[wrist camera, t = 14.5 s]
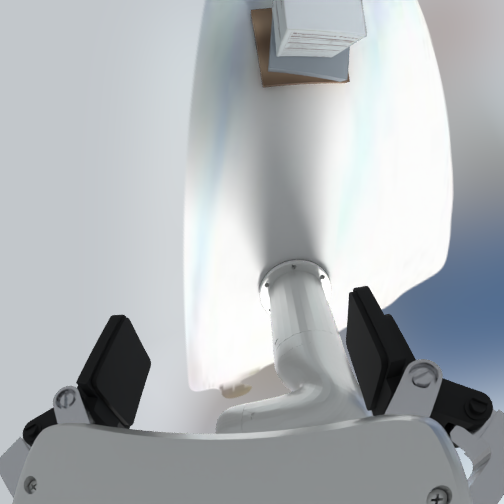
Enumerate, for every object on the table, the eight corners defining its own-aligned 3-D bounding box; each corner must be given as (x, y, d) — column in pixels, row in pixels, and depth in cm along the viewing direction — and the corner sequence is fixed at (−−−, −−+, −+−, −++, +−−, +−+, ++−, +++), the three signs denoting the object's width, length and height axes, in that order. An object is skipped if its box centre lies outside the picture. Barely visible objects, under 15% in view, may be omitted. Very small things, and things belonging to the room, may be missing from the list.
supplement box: (270, 8, 26) (277, -36, 15) (328, 11, 26) (359, -27, 14) (274, 58, 29) (284, 29, 18) (333, 59, 29) (369, 36, 18)
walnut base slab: (343, 83, 35) (349, 81, 33) (262, 88, 36) (263, 85, 33) (331, 13, 30) (336, 7, 27) (250, 16, 31) (251, 9, 28)
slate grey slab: (340, 81, 33) (347, 79, 30) (268, 71, 33) (269, 68, 30) (343, 20, 28) (350, 14, 26) (272, 9, 28) (274, 1, 25)
